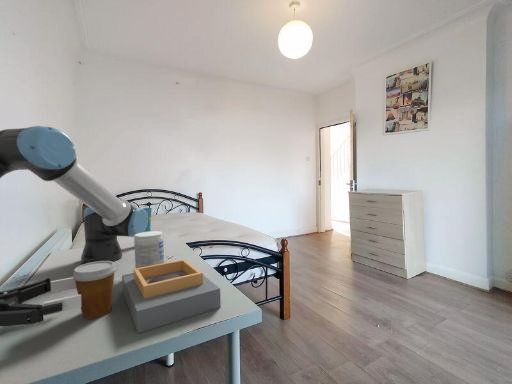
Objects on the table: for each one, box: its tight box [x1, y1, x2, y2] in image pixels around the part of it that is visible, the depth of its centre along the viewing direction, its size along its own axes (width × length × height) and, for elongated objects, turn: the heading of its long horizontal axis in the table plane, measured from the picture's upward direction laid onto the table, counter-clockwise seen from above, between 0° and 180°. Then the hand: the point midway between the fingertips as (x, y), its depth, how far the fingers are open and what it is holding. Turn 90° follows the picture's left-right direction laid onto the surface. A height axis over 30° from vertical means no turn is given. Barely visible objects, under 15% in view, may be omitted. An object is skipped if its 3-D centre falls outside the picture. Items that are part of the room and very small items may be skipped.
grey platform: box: [121, 258, 222, 334], centre depth 75 cm, size 30×20×8 cm, turn 34°
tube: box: [142, 207, 153, 232], centre depth 134 cm, size 7×5×19 cm, turn 103°
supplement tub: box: [133, 230, 165, 269], centre depth 92 cm, size 10×10×15 cm
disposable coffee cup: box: [71, 261, 117, 320], centre depth 66 cm, size 10×10×12 cm
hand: (81, 289), depth 64 cm, fingers open, 13 cm apart
